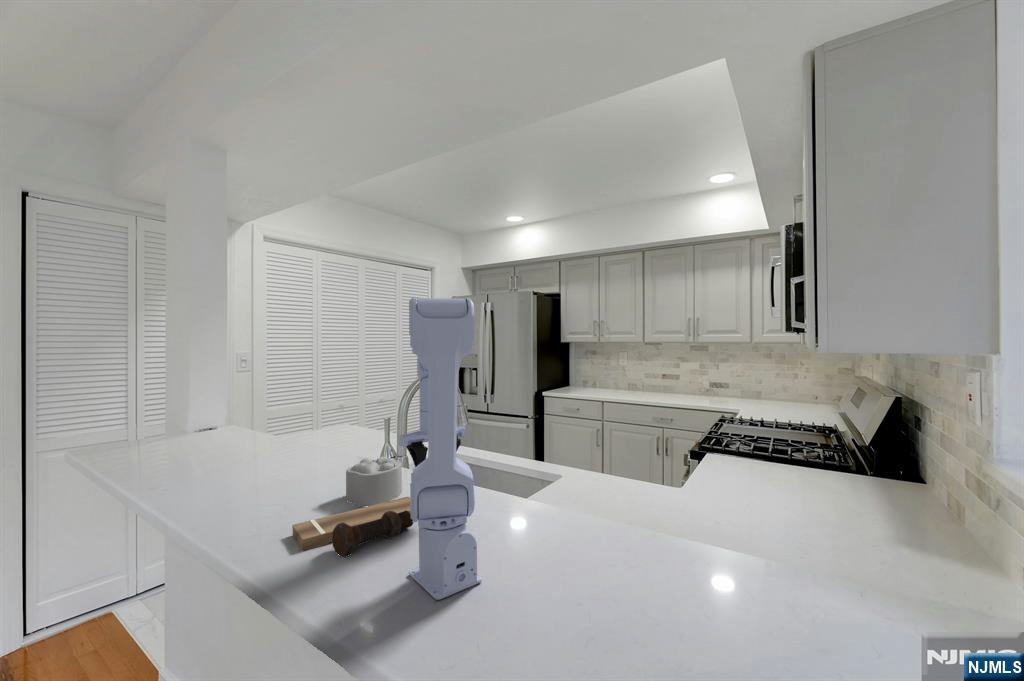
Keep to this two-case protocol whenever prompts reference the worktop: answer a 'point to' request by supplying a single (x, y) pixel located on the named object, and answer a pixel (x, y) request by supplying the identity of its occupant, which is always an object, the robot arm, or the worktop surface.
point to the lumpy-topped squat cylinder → (374, 481)
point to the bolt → (369, 531)
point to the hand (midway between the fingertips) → (434, 475)
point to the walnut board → (322, 528)
